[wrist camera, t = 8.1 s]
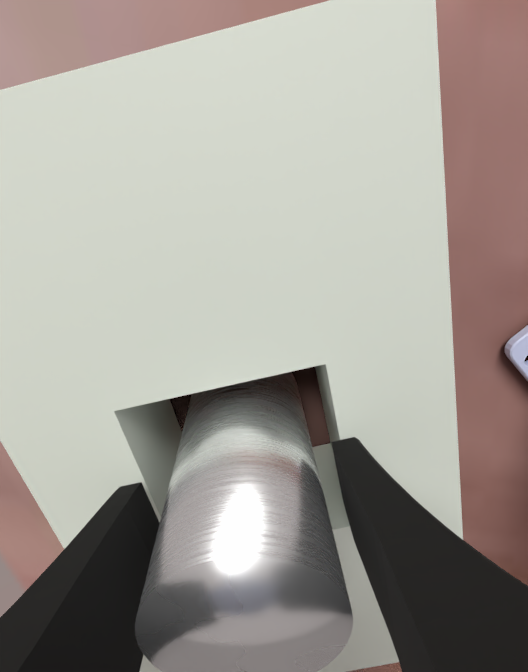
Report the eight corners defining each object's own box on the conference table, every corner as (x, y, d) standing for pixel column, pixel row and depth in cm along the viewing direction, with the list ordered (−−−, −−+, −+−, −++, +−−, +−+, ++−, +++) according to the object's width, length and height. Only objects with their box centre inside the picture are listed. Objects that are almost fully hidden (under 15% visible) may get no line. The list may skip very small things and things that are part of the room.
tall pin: (319, 396, 14) (395, 626, 7) (245, 456, 15) (245, 713, 8) (245, 327, 13) (245, 520, 6) (170, 397, 14) (88, 637, 7)
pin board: (422, 552, 18) (468, 649, 14) (175, 600, 18) (156, 705, 15) (369, 49, 11) (434, -29, 7) (-35, 155, 11) (-178, 138, 7)
